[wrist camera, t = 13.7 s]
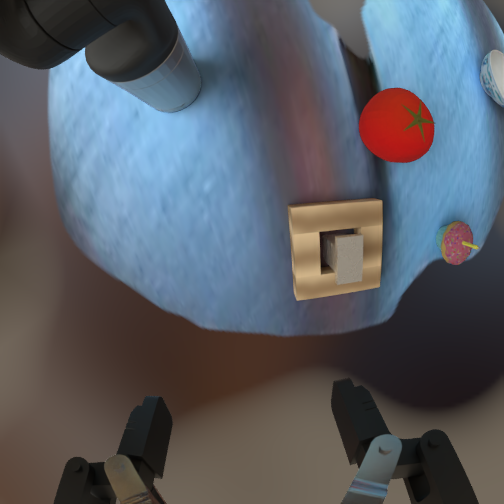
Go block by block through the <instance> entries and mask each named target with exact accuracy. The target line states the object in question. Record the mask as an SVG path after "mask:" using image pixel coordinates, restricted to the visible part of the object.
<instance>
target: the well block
mask: <svg viewBox="0 0 504 504" xmlns="http://www.w3.org/2000/svg"><path fill="white" fill-rule="evenodd" d="M288 215H289V227H290V240H291V254H292V269H293V285H294V294H295V297H296V299H297V301H298V300H305V299H312V298H318V297H325V296H331V295H337V294H343V293H349V292H355V291H360V290H366V289H371V288H377V287H380V276H381V259H382V225H383V213H382V200H379V199H375V198H368V199H353V200H340V201H327V202H316V203H305V204H294V205H288ZM350 228H354V234H360V233H361V234H362V235H363V271H362V281H359V282H353V283H346V284H340V285H337V284H336V283H335V272H334V271H333V270H332V268H331V267H330V266H327V267H320V239H319V232H322V231H331V230H340V229H350Z"/></svg>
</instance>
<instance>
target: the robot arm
mask: <svg viewBox="0 0 504 504" xmlns="http://www.w3.org/2000/svg"><path fill="white" fill-rule="evenodd" d="M84 47H85V57H86V61H87V63H88V65H89V67H90V68H91V69H92V70H93V71H94V72H95V73H96V74H98V75H99V76H101V77H103V78H104V79H106V80H108V81H110V82H111V83H113V84H115V85H116V86H118V87H120V88H122V89H123V90H125V91H127V92H128V93H130V94H132V95H133V96H135V97H137V98H138V99H140V100H141V101H143V102H145V103H146V104H148V105H149V106H151V107H153V108H154V109H156V110H158V111H161V112H167V113H170V112H176V111H179V110H182V109H184V108H186V107H187V106H189V105H190V104H191V103H192V102H193V101H194V100H195V99H196V97H197V96H198V94H199V92H200V89H201V83H202V82H201V76H200V73H199V71H198V69H197V66H196V64H195V62H194V60H193V58H192V55H191V53H190V51H189V49H188V47H187V45H186V42H185V40H184V38H183V36H182V34H181V32H180V30H179V28H178V26H177V23H176V21H175V19H174V17H173V15H172V14H171V12H170V10H169V8H168V6H167V4H166V2H165V0H0V54H1V55H3V56H4V57H7V58H8V59H10V60H12V61H14V62H17V63H19V64H21V65H24V66H27V67H30V68H34V69H50V68H53V67H55V66H57V65H59V64H61V63H63V62H64V61H66V60H67V59H69V58H70V57H72V56H73V55H75V54H76V53H77V52H79V51H80V50H82V49H83V48H84ZM331 407H332V412H333V415H334V418H335V421H336V424H337V427H338V430H339V433H340V436H341V439H342V442H343V445H344V448H345V450H346V454H347V457H348V460H349V463H350V465H352V464H356V463H357V465H358V468H359V471H358V473H357V474H356V476H355V478H354V480H353V482H352V484H351V486H350V488H349V490H348V491H347V493H346V495H345V497H344V498H343V500H342V502H341V504H383V501H384V499H385V497H386V494H387V487H388V485H389V482H390V480H391V479H399V478H403V480H404V483H405V485H406V489H407V492H408V495H409V498H410V501H411V504H479V503H478V500H477V498H476V495H475V493H474V491H473V488H472V486H471V484H470V482H469V479H468V477H467V475H466V473H465V471H464V469H463V466H462V464H461V462H460V460H459V458H458V456H457V454H456V452H455V450H454V448H453V446H452V444H451V442H450V440H449V438H448V436H447V435H446V434H445V433H444V432H443V431H441V430H436V429H435V430H430V431H428V432H426V433H425V434H424V435H423V436H422V437H421V438H413V439H399V438H397V437H396V436H394V435H392V434H391V433H390V432H389V430H388V428H387V426H386V424H385V422H384V420H383V418H382V416H381V414H380V412H379V410H378V408H377V406H376V404H375V402H374V400H373V398H372V396H371V394H370V392H369V391H368V390H367V389H365V388H364V387H363V386H357V387H354V385H353V382H352V381H351V379H350V378H345V379H341V380H336V381H334V382H333V389H332V398H331ZM172 425H173V422H172V416H171V414H170V412H169V410H168V408H167V406H166V404H165V402H164V400H163V398H162V397H160V396H159V397H158V396H146V397H145V399H144V401H143V405H142V406H137V407H136V408H135V409H134V410H133V411H132V412H131V414H130V417H129V419H128V423H127V425H126V429H125V431H124V434H123V437H122V439H121V442H120V446H119V449H118V451H117V454H116V455H113V456H111V457H109V458H108V459H107V460H106V462H98V463H88V462H87V461H86V460H85V459H84V458H81V457H73V458H71V459H70V460H69V461H68V462H67V464H66V466H65V469H64V472H63V474H62V478H61V481H60V484H59V487H58V490H57V493H56V497H55V500H54V504H116V498H118V500H119V502H120V504H167V503H166V502H165V500H164V499H163V497H162V496H161V494H160V493H159V491H158V490H157V488H156V487H155V485H154V484H153V481H154V478H160V479H162V477H163V472H164V466H165V461H166V456H167V450H168V445H169V440H170V435H171V430H172Z"/></svg>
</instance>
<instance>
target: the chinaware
mask: <svg viewBox="0 0 504 504" xmlns="http://www.w3.org/2000/svg"><path fill="white" fill-rule="evenodd" d="M480 81H481V84H482V87H483V89H484V90H485V92H486V93H487V94H488V95H489V96H490V97H492V98H493V99H494V101H495V102H497V103H498V104H499V105H500V106H502V107H503V108H504V54H503V53H501V52H500V51H498V50H493V51H491V52H489V53H488V54H487V55H486V56H485V58H484V60H483V62H482V66H481V73H480Z"/></svg>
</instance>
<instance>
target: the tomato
mask: <svg viewBox="0 0 504 504" xmlns="http://www.w3.org/2000/svg"><path fill="white" fill-rule="evenodd" d="M359 132H360V136H361V139H362V141H363V143H364V144H365V146H366V147H367V148H368V149H369V150H370V151H371V152H372V153H373V154H375V155H376V156H378V157H380V158H382V159H384V160H386V161H389V162H400V163H407V162H412V161H415V160H417V159H419V158H421V157H422V156H423V155H424V154H425V153H427V152H428V150H429V148H430V147H431V145H432V142H433V138H434V122H433V118H432V116H431V114H430V112H429V110H428V108H427V107H426V105H425V104H424V103H423V102H422V101H421V100H420V99H419V98H418V97H417V96H416V95H415V94H414V93H412V92H410V91H408V90H406V89H402V88H390V89H385V90H383V91H381V92H379V93H377V94H376V95H375V96H374V97H372V99H371V100H370V101H369V102H368V103H367V105H366V106H365V108H364V109H363V111H362V114H361V116H360V121H359Z"/></svg>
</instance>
